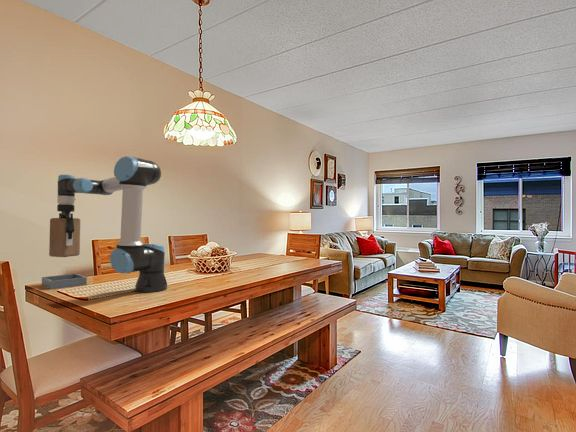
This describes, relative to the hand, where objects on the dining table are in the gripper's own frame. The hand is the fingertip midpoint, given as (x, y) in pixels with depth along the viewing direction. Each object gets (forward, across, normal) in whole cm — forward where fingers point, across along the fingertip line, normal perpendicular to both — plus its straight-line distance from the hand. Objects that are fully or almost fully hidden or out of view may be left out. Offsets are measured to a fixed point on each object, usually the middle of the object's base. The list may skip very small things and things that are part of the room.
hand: (65, 244), depth 173 cm
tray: (+21, 0, 0) cm, 21 cm away
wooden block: (+6, 0, 0) cm, 6 cm away
